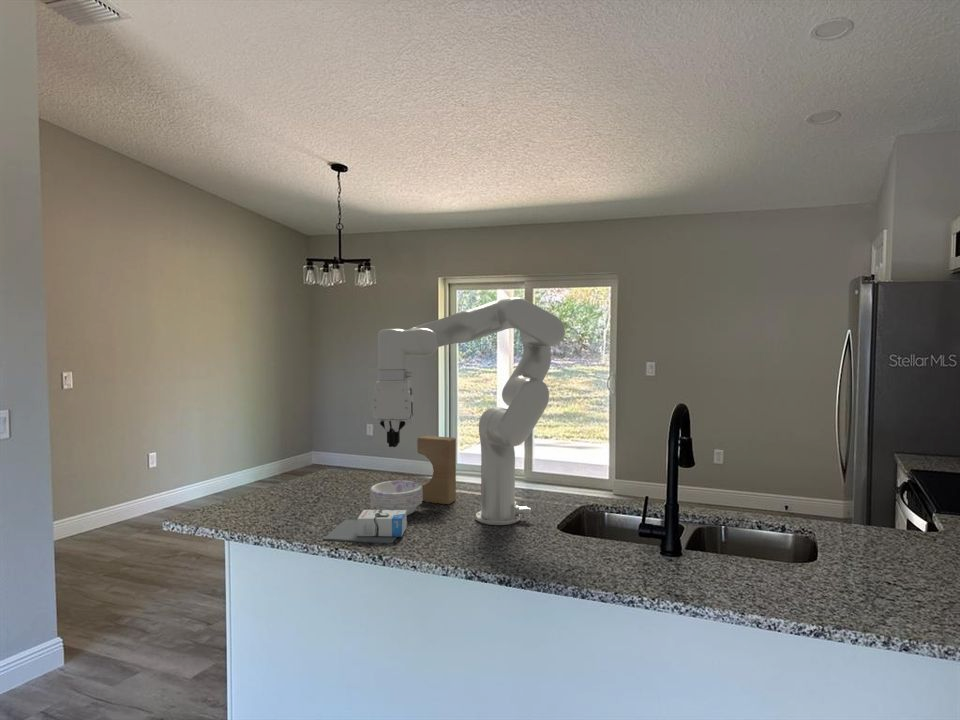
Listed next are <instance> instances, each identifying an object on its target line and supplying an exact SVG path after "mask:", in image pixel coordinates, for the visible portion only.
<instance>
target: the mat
mask: <svg viewBox="0 0 960 720" xmlns="http://www.w3.org/2000/svg"><path fill="white" fill-rule="evenodd" d="M408 525H409V522H408V521H407V526H408ZM397 539H398V537H397V536H357V519H344V520H343V521H342V522H341V523H340V524H339V525H337V526H336V527H335V528H334V529H333V530H331V531H330V532H329V533H328V534H327V535H326V536H324V537H322V540H323V541H332V540H333V542H335V541H337V542H355V543H374V544H393V543H394V542H395V541H396V540H397ZM394 540H395V541H394Z"/></svg>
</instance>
